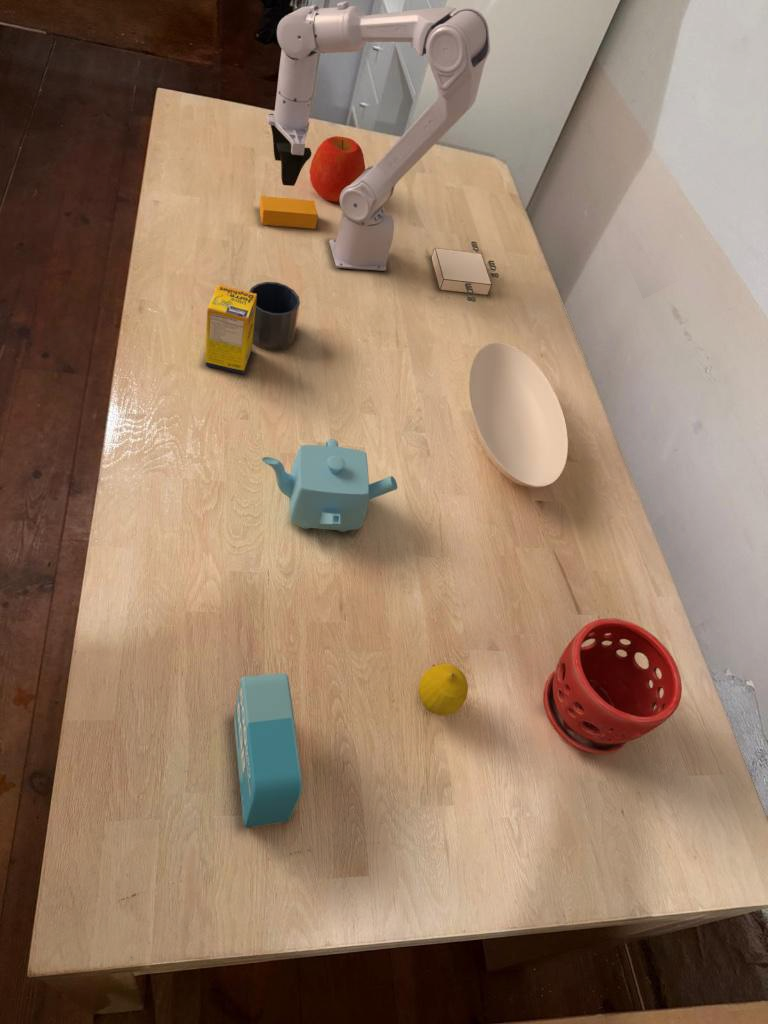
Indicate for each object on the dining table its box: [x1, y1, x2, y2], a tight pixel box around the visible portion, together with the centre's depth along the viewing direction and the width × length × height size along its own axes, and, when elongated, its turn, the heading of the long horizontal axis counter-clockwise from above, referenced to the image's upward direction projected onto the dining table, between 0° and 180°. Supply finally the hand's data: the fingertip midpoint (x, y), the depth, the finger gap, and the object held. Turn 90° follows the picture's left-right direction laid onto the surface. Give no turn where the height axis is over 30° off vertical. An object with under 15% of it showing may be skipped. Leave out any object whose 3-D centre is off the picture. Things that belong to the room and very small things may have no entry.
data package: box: [233, 672, 303, 828], centre depth 74 cm, size 12×4×12 cm, turn 12°
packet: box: [259, 195, 318, 230], centre depth 138 cm, size 10×4×3 cm, turn 102°
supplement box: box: [205, 283, 257, 375], centre depth 110 cm, size 6×6×11 cm
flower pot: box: [542, 618, 683, 755], centre depth 87 cm, size 13×13×12 cm
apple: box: [309, 135, 366, 203], centre depth 145 cm, size 11×11×11 cm
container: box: [430, 241, 500, 303], centre depth 140 cm, size 20×11×3 cm, turn 8°
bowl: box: [468, 342, 569, 488], centre depth 115 cm, size 30×15×6 cm, turn 4°
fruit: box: [418, 663, 469, 716], centre depth 85 cm, size 6×6×8 cm
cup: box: [248, 281, 301, 351], centre depth 117 cm, size 8×8×7 cm
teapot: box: [261, 438, 398, 532], centre depth 97 cm, size 18×14×10 cm
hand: (284, 172), depth 131 cm, fingers open, 7 cm apart
